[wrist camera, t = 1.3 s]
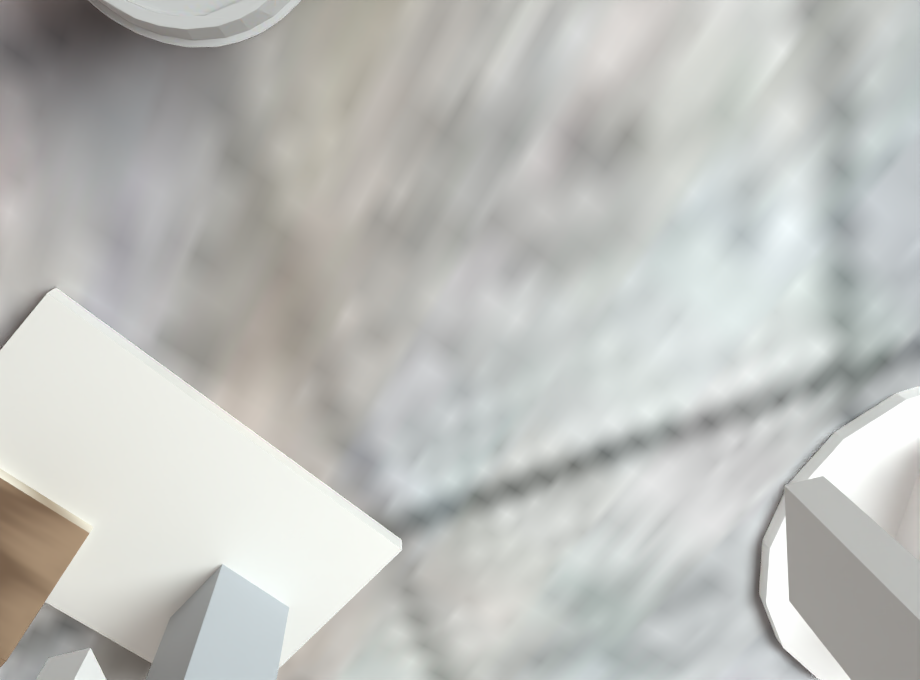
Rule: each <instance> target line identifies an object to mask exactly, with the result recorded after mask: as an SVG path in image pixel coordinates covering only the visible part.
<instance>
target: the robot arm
mask: <svg viewBox="0 0 920 680" xmlns="http://www.w3.org/2000/svg"><path fill="white" fill-rule="evenodd" d="M784 494H785V517H786V541H787V564H788V588H789V601H790V603H791V604H792V605H793V607H794V608H795V609H796V610H797V612H798V613H799V614H800V615H801V617H802V618H803V619H804V620H805V622H806V623H807V624H808V626H809V627H810V628H811V629H812V631H813V632H814V633H815V634H816V636H817V637H818V638H819V640H820V641H821V642H822V643H823V645H824V646H825V647H826V648H827V650H828V651H829V652H830V653H831V655H832V656H833V657H834V659H835V660H836V661H837V662H838V664H839V665H840V666H841V667H842V669H843V670H844V671H845V673H846V674H847V675H848V676H849V678H850V679H851V680H920V561H919V560H918V559H917V558H915V557H914V556H913V555H912V554H911V553H910V552H909V551H907V550H906V549H905V548H904V547H903V546H902V545H901V544H900V543H898V542H897V541H896V540H895V539H894V538H893V537H892V536H891V535H889V534H888V533H887V532H886V531H885V530H884V529H883V528H882V527H880V526H879V525H878V524H877V523H876V522H875V521H874V520H873V519H871V518H870V517H869V516H868V515H867V514H866V513H865V512H864V511H862V510H861V509H860V508H859V507H858V506H857V505H856V504H855V503H853V502H852V501H851V500H850V499H849V498H848V497H847V496H846V495H844V494H843V493H842V492H841V491H840V490H839V489H838V488H836V487H835V486H834V485H833V484H832V483H831V482H830V481H829V480H827V479H826V478H825V477H824V476H821V477H817V478H812V479H808V480H804V481H799V482H795V483H791V484H787V485H784ZM36 680H106V678H105V676H104V674H103V672H102V670H101V668H100V666H99V664H98V662H97V660H96V658H95V656H94V654H93V652H92V650H91V648H87V649H83V650H78V651H74V652H70V653H66V654H61V655H57V656H53V657H49V658H48V660H47V661H46V663H45V665H44V667H43V668H42V670H41V672H40V673H39V675H38V677H37V679H36Z"/></svg>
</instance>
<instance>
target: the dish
mask: <svg viewBox="0 0 920 680" xmlns="http://www.w3.org/2000/svg"><path fill="white" fill-rule="evenodd" d="M821 476H824V477H825V478H826V479H827V480H829V481H830V482H831V483H832V484H833V485H834V486H835V487H836V488H838V489H839V490H840V491H841V492H842V493H843V494H844V495H846V496H847V497H848V498H849V499H850V500H851V501H852V502H853V503H855V504H856V505H857V506H858V507H859V508H860V509H861V510H862V511H864V512H865V513H866V514H867V515H868V516H869V517H870V518H871V519H873V520H874V521H875V522H876V523H877V524H878V525H879V526H880V527H882V528H883V529H884V530H885V531H886V532H887V533H888V534H889V535H891V536H892V537H893V538H894V539H895V540H896V541H897V542H898V543H900V544H901V545H902V546H903V547H904V548H905V549H906V550H907V551H909V552H910V553H911V554H912V555H913V556H914V557H915V558H917V559H918V560H919V561H920V386H918V387H914V388H911V389H908V390H904V391H901V392H897V393H895V394H893V395H892V396H890V397H889V398H887V399H886V400H884V401H882V402H881V403H879V404H878V405H876V406H875V407H873V408H871V409H870V410H868V411H867V412H865V413H864V414H862V415H860V416H859V417H857V418H856V419H854V420H853V421H851V422H849V423H848V424H846V425H845V426H843V427H842V428H840V429H838V430H837V431H835V432H834V433H833V434H832V435H831V437H830V438H829V439H828V440H827V441H826V442H825V443H824V444H823V445H822V447H821V448H820V449H819V450H818V451H817V452H816V453H815V454H814V456H813V457H812V458H811V459H810V460H809V461H808V462H807V463H806V464H805V466H804V467H803V468H802V469H801V470H800V471H799V472H798V473H797V475H796V476H795V477H794V478H793V479H792V480H791V481H790V482H789V483H788V484H791V483H795V482H799V481H804V480H808V479H812V478H817V477H821ZM759 595H760V598H761V600H762V603H763V606H764V608H765V611H766V613H767V616H768V618H769V621H770V623H771V626H772V629H773V631H774V634H775V636H776V638H777V640H778V641H779V642H780V644H781V645H782V647H783V648H784V649H785V650H786V651H787V652H789V653H790V654H791V655H792V656H793V657H794V658H795V659H796V660H797V661H799V662H800V663H801V664H802V665H803V666H804V667H805V668H806V669H808V670H809V671H810V672H811V673H812V674H813V675H814V676H815V677H817V678H818V679H820V680H851V679H850V678H849V676H848V675H847V674H846V673H845V671H844V670H843V669H842V667H841V666H840V665H839V664H838V662H837V661H836V660H835V659H834V657H833V656H832V655H831V653H830V652H829V651H828V650H827V648H826V647H825V646H824V645H823V643H822V642H821V641H820V640H819V638H818V637H817V636H816V634H815V633H814V632H813V631H812V629H811V628H810V627H809V626H808V624H807V623H806V622H805V620H804V619H803V618H802V617H801V615H800V614H799V613H798V612H797V610H796V609H795V608H794V607H793V605H792V604H791V603H790V601H789V588H788V564H787V541H786V517H785V494H783V496H782V498H781V501H780V503H779V505H778V507H777V509H776V512H775V514H774V516H773V518H772V520H771V522H770V525H769V527H768V529H767V531H766V533H765V536H764V538H763V540H762V553H761V568H760V583H759Z"/></svg>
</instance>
